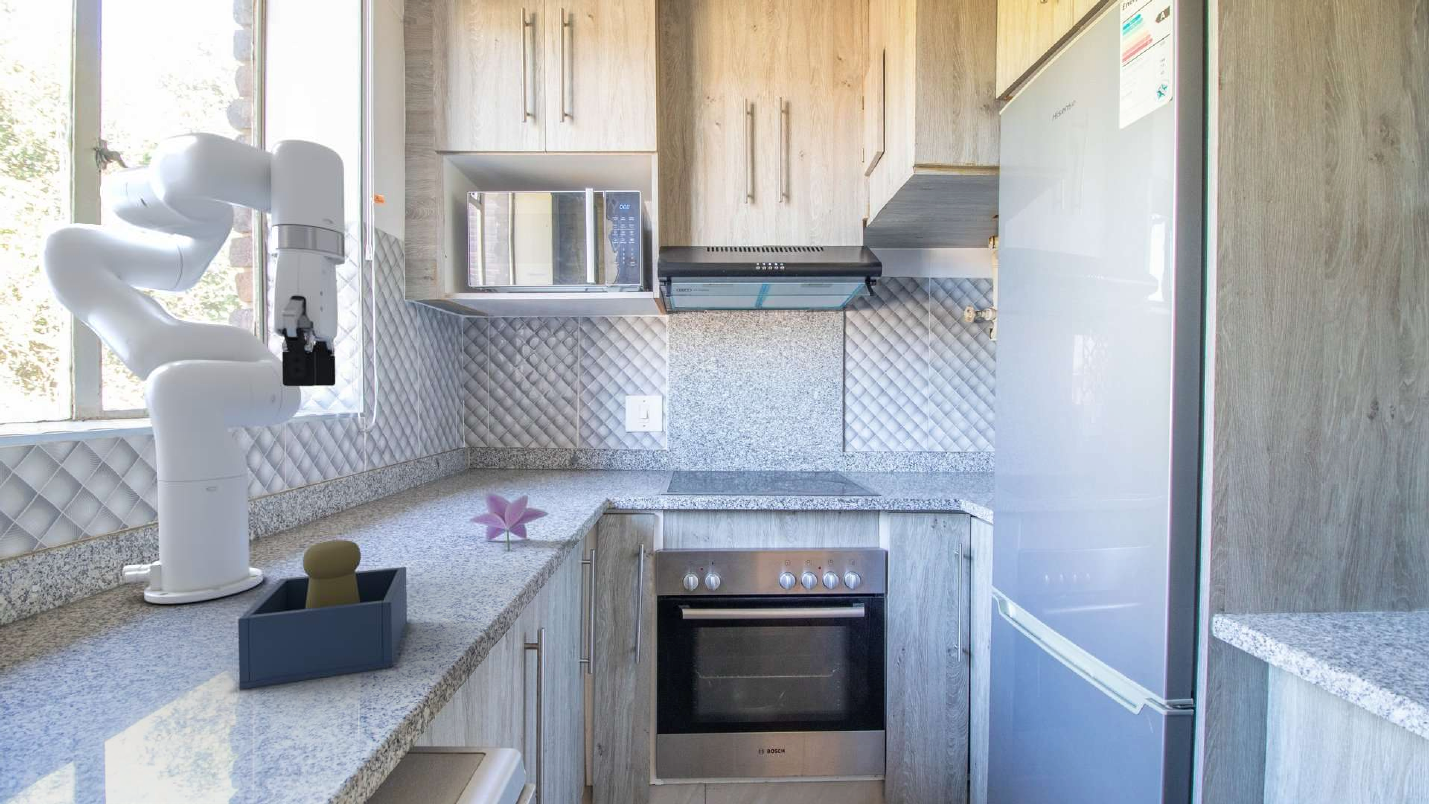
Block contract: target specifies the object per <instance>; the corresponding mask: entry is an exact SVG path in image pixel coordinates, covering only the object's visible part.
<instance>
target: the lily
mask: <svg viewBox="0 0 1429 804" xmlns="http://www.w3.org/2000/svg"><path fill="white" fill-rule="evenodd" d="M484 497H485V503H486V509H487V511H488V512H487V513H482V514H479V515H477V516H474V517H472V518H471V519H469V522H470V523H475V524H478V525H479V524H480V525H484V526H486V530H485V540H486V541H487V542H490V541H492V540H494V539H495V538H498V537H499V536H501V535H503V534H506V543H507V551H511V548H510V534H513V535H514V536H517V537H519V538H521V539H523V540H526V539H527V538H528V532H527V528H526V525H525V524H528V523H530V522H532V521H537V520H538V519H542V518H544V517H547V516H549V513H548V512H547V511H545V510H542V509H539V508H535V507H527V506H528V501H529V495H527V494H525V495H523V496H520V497H518V498H516V499H515V500H512V501H511V502H510V501H509V500H508V499H506V498H505V497H503V496H501V495H499V494H497V493H494V492H490V491H486V492H485V493H484Z"/></svg>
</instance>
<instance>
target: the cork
mask: <svg viewBox="0 0 1429 804" xmlns="http://www.w3.org/2000/svg"><path fill="white" fill-rule="evenodd" d="M361 559H362V553H361V549H360V547H359V545H358V544H357V543H356V542H354V541H351V540H347V539H345V540H344V539H335V540H327V541H326V540H325V541H322V542H319V543H315V544H313V545H311V546H310V547H308V548H307V549H306V551H305V552H304V554H303V557H302V567H303V568H302V569H303V571H304V573H305V575H307V576H309V577H310V578H309V585H308V593H307V600H306V607H305V609H311V608H320V607H329V606H338V605H347V604H356V603H360V598H359V592H358V586H357V581H356V575H355V572H356V571H357V569H358V567H359V566H360V563H361Z"/></svg>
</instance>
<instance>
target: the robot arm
mask: <svg viewBox="0 0 1429 804" xmlns="http://www.w3.org/2000/svg"><path fill="white" fill-rule="evenodd" d="M99 193H100V198H101V201H102V203H103V205H104V207H105V208H106V210H107V211H109V213H111V214H112V215H113V216H114V217H115V218H117V219H118V220H120V221H122V222H124V223H126V224H128V225H130V226H133V227H136V228H139V229H144V230H148V231H153V232H157V233H158V232H159V233H164V234H167V235H168V234H169V235H173V236H172V237H164V236H158V235H153V234H148V233H142V232H138V231H132V230H126V229H121V228H115V227H110V226H105V225H99V224H98V225H97V224H85V223H70V224H62V225H57V226H54V227H52V228H50V229H48V230H46V232H44V233H43V235H42V236H41V238H40V240H39V241H38V245H37V261H38V265H39V270H40V272H41V275H42V277H43V280H44V282H45V285H46V286H47V288H48V290H49V291H50V293H51V294H52V295H53V297H54V298H55V299H56V300H57V301H58V303H60V305H62V307H63V308H65V309H66V310H67V311H68V312H69V313H70V314H72V315H73V316H74V317H75V318H77V319H78V320H79V321H81V322H82V323H84V324H85V325H86V326H87V327H89V328H90V329H91V330H92V331H93V332H94V333H95V334H96V335H97V336H98V337H99V338H100V340H101V341H102V342H103V343H104V344H105V345H106V346H107V347H108V349H109V350H110V351H111V352H112V353H113V354H114V355H115V356H116V357H117V359H118V360H119V361H120V362H121V363H122V364H123V365H124V367H126V368H127V369H128V370H129V371H130V373H132V374H133V375H134V376H136V377H137V378H139V379H140V380H143V381H145V384H144V390H143V391H144V400H145V404H146V409H147V412H148V417H149V420H150V425H151V428H152V433H153V434H152V435H153V440H154V447H155V461H156V485H157V515H158V516H157V522H158V524H157V525H158V560H156V561H154V562H153V563H151V564H131V565H125V566H124V567H123V568H122V570H121V578H122V580H123V582H124V583H125V584H127V583H128V584H130V583H139V582H144V581H145V582H147V583H149V586H147V587H146V588H145V589H144V591H143V598H144V601H146V602H148V603H152V604H158V605H159V604H160V605H175V604H185V603H186V604H187V603H194V602H203V601H207V600H208V601H209V600H212V599H218V598H223V597H226V596H230V595H234V594H238V593H242V592H244V591H247V590H250V589H251V588H254V587H255V586H258V585H259V584H260V583H262V582H263V580H264V571H263V570H262V569H260V568H256V567H250V531H249V530H250V527H249V525H250V523H249V478H248V477H249V476H248V475H249V474H248V461H247V457H246V454H245V452H244V449H243V448H242V446H241V445H240V444H239V443H238V441H237V440H236V439H235V438H234V437H233V436H232V435H231V433H230V432H229V431H228V429H236V428H251V427H264V426H273V425H274V426H275V425H279V424H282V423H285V422H287V421H289V420H291V419H292V418H293V417H294V416H295V415H296V414H297V413H298V411H299V409H300V407H301V403H302V391H301V388H300V387H318V386H319V387H324V386H325V387H329V386H330V387H334V386H335V385H336V355H335V353H336V351H335V344H334V340H335V339H336V338H337V336H338V327H339V325H338V323H339V322H338V321H339V320H338V319H339V318H338V317H339V315H338V314H339V313H338V312H339V311H338V309H339V308H338V306H339V305H338V283H337V282H338V280H337V269H336V268H337V267H336V266H341V265H344V264H345V263H346V248H345V247H346V246H345V245H346V243H345V242H346V241H345V239H346V238H345V236H346V235H345V231H346V230H345V167H344V162H343V158H342V157H341V156H340V154H339V153H337V152H336V151H335V150H334V149H332V148H330V147H328V146H326V145H323V144H320V143H317V142H313V141H309V140H302V139H284V140H279V141H278V142H276V143H275V144H274V145H273V146H272V148H271V151H267V150H265V149H261V148H259V147H256V146H253V145H250V144H247V143H245V142H242V141H239V140H235V139H232V138H229V137H226V136H223V135H220V134H219V135H218V134H214V133H211V132H210V133H209V132H190V133H183V134H178V135H173V136H169V137H166V138H164V139H163V140H162V141H161V142H159V144H158V145H157V146H156V148H155V149H154V151H153V153H152V155H151V158H150V161H149V164H148V163H147V164H143V165H142V164H141V165H135V166H129V167H125V168H122V169H118V170H116V171H113V172H111V173H110V174H108V175H107V177H105V178H104V180H103V181H102V183H101V185H100V190H99ZM233 205H234V206H239V207H242V208H246V209H248V210H249V209H250V210H254V211H256V212H257V211H258V212H261V213H264V214H269V215H271V250H272V251H271V256H272V257H273V258H275V259H276V261H275V267H274V277H273V278H274V280H273V295H272V297H273V299H272V330H273V332H274V333H275V334H276V335H277V336H279V337H282V342H281V347H282V348H281V350H282V351H281V356H282V357H281V359H282V360H281V359H280V358H279V357H278V356H277V355H276V354H275V353H274V352H273V351H272V350H271V349H270V348H269V347H268V346H267V345H266V344H264V342H263V341H262V340H261V339H260V338H258V336H256V335H255V334H254V333H252V332H251V331H250V330H247V329H246V328H243V327H241V326H238V325H235V324H229V323H222V322H212V321H201V320H193V319H192V320H191V319H186V318H181V317H178V316H176V315H174V314H173V313H171V312H170V311H169V310H168V309H167V308H166V306H165V305H164V304H162V303H161V302H160V301H159V300H158V299H157V298H155V297H154V296H152V295H151V294H149V293H147V292H145V291H143V290H147V291H156V292H164V293H182V292H187V291H190V290H192V289H193V288H194V287H195V286H197V285H198V283H200V281H201V280H202V278H203V276H204V275H205V274H206V272H207V270H208V269H209V267H210V266H211V264H212V263H213V261H214V259H215V258H216V256H217V255H218V254H219V252H220V251H221V249H222V248H223V246H224V245H225V244H226V242H227V239H228V238H229V236H230V234H231V233H232V229H233V226H234V223H235V211H234V207H233Z"/></svg>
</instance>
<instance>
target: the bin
mask: <svg viewBox="0 0 1429 804" xmlns="http://www.w3.org/2000/svg"><path fill="white" fill-rule="evenodd" d="M355 575H356V581H357V586H358V592H359V598H360V603H356V604H347V605H338V606H329V607H320V608H311V609H305V607H306V600H307V593H308V585H309V578H310V577H309V576H308V575H307V576H306V575H305V576H295V577H294V576H293V577H285V578H284V577H283V578H280V579H279V580H278V581H277V582H276V583H275V584H273V585H272V587H270V589H268V590H267V591H266V592H265V593H264V594H263V595H262V596H261V597H260V598H259V599H258V600H256V602H255V603H253V605H251V606H250V607H249V608H248V609H247V610H246V611H245V612H244V613H243V614H242V615H241V616H240V617H239V618H238V619H237V635H238V636H237V637H238V678H239V679H238V682H239V685H238V687H239V688H238V689H239V690H245V689H246V690H247V689H252V688H259V687H266V686H272V685H279V684H280V685H281V684H287V683H292V682H300V681H301V682H302V681H307V680H313V679H320V678H327V677H334V676H341V675H347V674H354V673H360V672H362V673H363V672H368V671H375V670H381V669H387V668H393V665H394V662H395V659H396V656H397V653H398V650H399V647H400V644H401V641H402V637H403V635H404V632H405V629H406V626H407V623H408V608H407V607H408V603H407V602H408V601H407V600H408V599H407V597H408V596H407V595H408V593H407V592H408V591H407V566H402V567H390V568H379V569H368V570H358V571H357V570H356V571H355Z"/></svg>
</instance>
